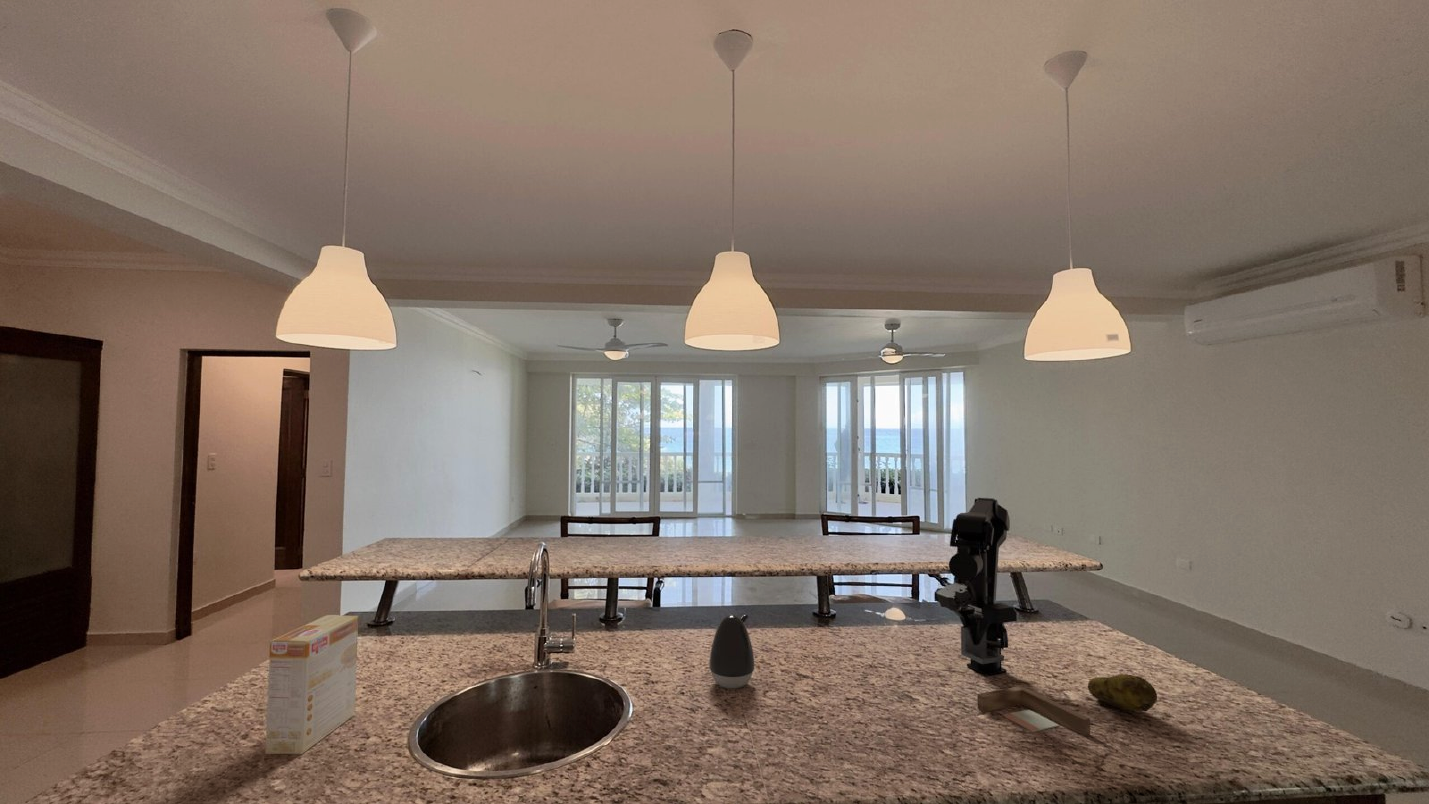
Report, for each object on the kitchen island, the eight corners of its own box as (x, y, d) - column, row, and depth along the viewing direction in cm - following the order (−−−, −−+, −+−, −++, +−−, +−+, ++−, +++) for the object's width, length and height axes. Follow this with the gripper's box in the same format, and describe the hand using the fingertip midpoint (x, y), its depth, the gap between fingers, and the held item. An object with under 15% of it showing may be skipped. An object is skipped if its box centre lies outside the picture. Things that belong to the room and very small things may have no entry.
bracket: (982, 651, 132) (981, 623, 133) (1004, 660, 127) (1003, 632, 127) (961, 654, 130) (960, 626, 131) (982, 664, 125) (981, 635, 125)
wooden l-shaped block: (1019, 699, 127) (1019, 685, 127) (1090, 735, 112) (1089, 718, 112) (975, 708, 122) (975, 693, 123) (1043, 746, 107) (1042, 729, 108)
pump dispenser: (764, 683, 134) (764, 615, 135) (733, 698, 126) (734, 625, 127) (730, 671, 141) (730, 606, 142) (699, 684, 133) (700, 615, 134)
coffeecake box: (321, 714, 118) (326, 614, 119) (356, 714, 118) (360, 614, 119) (262, 754, 103) (267, 640, 104) (302, 755, 103) (307, 640, 104)
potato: (1121, 696, 128) (1120, 658, 129) (1166, 725, 115) (1165, 683, 116) (1083, 696, 128) (1082, 658, 129) (1123, 725, 116) (1122, 683, 116)
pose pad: (1028, 710, 121) (1028, 709, 122) (1059, 726, 115) (1059, 725, 115) (1002, 715, 119) (1002, 714, 119) (1032, 732, 112) (1032, 731, 112)
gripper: (915, 565, 138) (915, 634, 137) (976, 584, 120) (977, 663, 119) (953, 562, 142) (954, 629, 141) (1018, 580, 124) (1019, 656, 123)
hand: (973, 643), depth 131 cm, fingers closed on bracket
